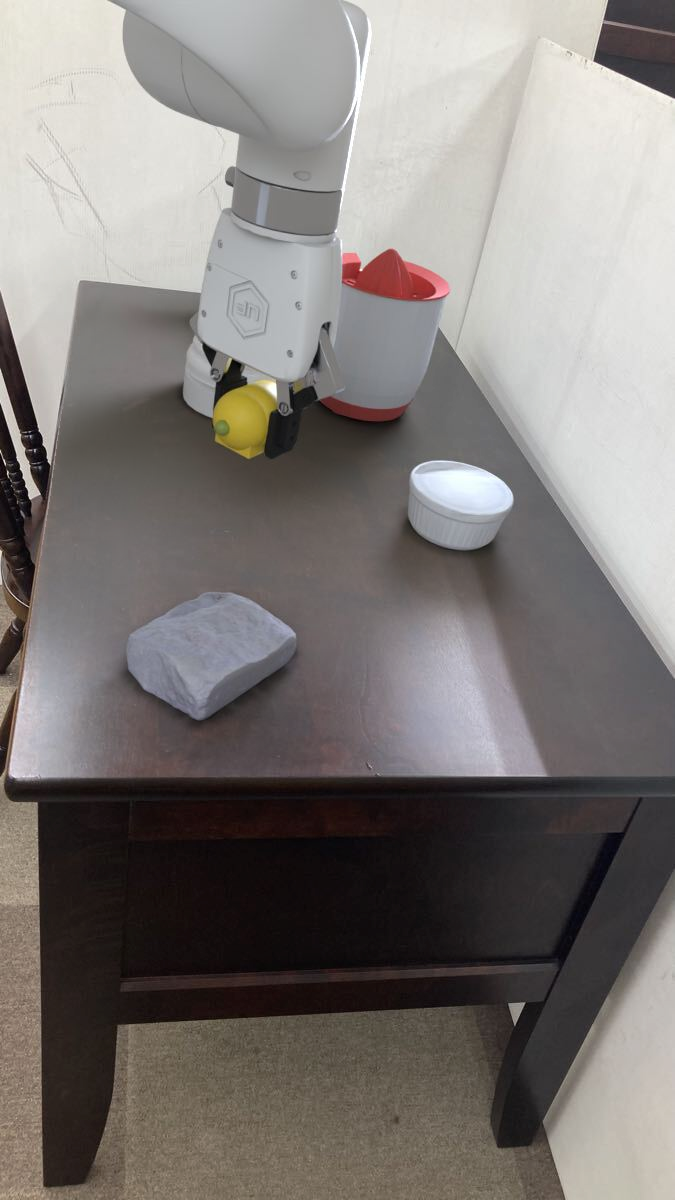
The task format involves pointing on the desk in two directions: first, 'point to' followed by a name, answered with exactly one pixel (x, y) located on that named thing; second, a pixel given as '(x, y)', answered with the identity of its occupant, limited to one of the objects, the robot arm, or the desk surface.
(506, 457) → the desk surface
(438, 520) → the ramekin
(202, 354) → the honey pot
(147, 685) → the stone block
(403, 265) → the citrus juicer
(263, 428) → the lemon
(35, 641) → the desk surface
